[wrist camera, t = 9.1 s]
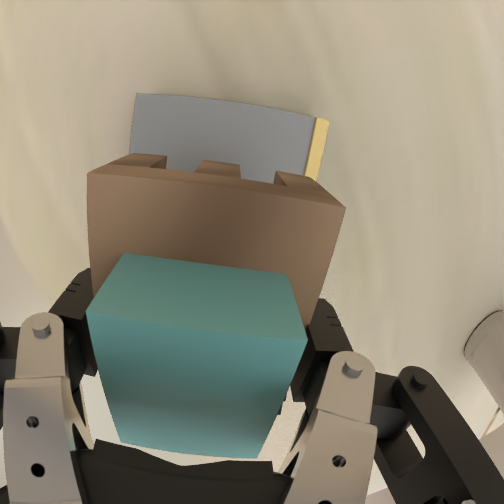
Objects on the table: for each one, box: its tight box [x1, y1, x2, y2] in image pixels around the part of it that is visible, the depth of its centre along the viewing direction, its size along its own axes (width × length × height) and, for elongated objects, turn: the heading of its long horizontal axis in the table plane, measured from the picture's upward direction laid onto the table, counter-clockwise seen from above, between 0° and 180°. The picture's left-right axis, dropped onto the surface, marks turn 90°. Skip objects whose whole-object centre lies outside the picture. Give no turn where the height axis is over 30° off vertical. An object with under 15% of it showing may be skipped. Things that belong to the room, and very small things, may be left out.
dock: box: [129, 93, 330, 184], centre depth 21 cm, size 12×14×4 cm
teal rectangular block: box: [86, 253, 308, 458], centre depth 7 cm, size 4×5×2 cm
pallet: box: [87, 153, 346, 331], centre depth 10 cm, size 6×9×4 cm, turn 170°
